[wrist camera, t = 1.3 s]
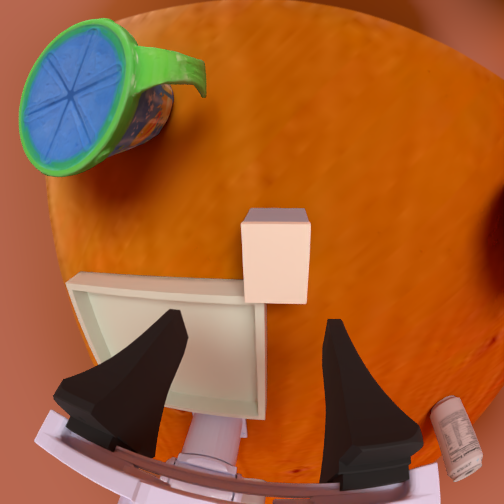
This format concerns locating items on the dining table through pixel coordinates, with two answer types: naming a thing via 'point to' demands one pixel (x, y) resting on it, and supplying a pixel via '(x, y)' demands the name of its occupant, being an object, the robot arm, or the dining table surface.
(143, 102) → the snack cup
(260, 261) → the pale pink block
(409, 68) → the dining table surface
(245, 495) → the lumpy-topped squat cylinder
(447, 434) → the energy drink can
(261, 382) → the white square tray
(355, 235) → the dining table surface
